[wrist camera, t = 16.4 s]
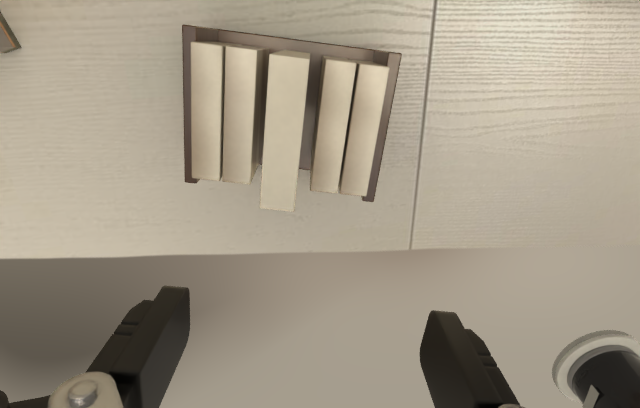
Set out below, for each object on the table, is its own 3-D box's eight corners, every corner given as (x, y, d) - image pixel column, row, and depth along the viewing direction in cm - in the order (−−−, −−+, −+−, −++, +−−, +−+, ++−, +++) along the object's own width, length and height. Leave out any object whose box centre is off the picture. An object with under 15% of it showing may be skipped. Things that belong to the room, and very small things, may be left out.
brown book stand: (383, 51, 36) (406, 54, 27) (362, 172, 40) (376, 209, 31) (209, 28, 35) (174, 23, 26) (208, 156, 39) (178, 188, 30)
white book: (310, 53, 35) (309, 59, 23) (299, 159, 38) (294, 212, 26) (283, 49, 34) (269, 53, 22) (275, 156, 38) (259, 208, 26)
